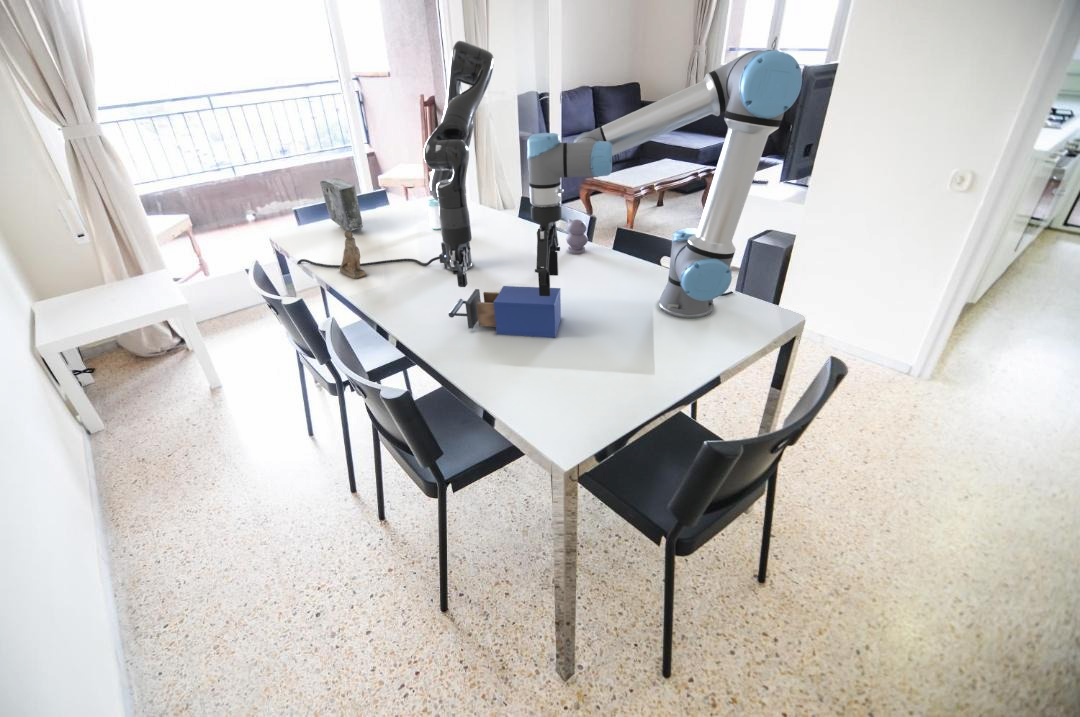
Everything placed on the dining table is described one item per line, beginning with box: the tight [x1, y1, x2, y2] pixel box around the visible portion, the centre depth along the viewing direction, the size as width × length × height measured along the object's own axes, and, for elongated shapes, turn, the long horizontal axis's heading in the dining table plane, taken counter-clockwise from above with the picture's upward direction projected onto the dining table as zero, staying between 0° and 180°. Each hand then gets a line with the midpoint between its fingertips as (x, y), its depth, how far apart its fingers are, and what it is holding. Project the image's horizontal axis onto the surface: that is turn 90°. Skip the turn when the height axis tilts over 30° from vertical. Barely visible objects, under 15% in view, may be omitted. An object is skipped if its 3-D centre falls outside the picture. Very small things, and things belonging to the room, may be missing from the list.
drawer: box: [448, 288, 499, 329], centre depth 139 cm, size 20×10×8 cm, turn 80°
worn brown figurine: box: [339, 230, 367, 280], centre depth 174 cm, size 12×6×18 cm, turn 43°
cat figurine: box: [565, 218, 589, 255], centre depth 187 cm, size 9×8×12 cm
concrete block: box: [319, 177, 364, 232], centre depth 222 cm, size 27×9×20 cm, turn 36°
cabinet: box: [494, 285, 562, 339], centre depth 137 cm, size 16×11×10 cm, turn 80°
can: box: [426, 198, 441, 230], centre depth 220 cm, size 7×7×12 cm
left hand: (463, 285), depth 136 cm, fingers closed
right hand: (549, 284), depth 131 cm, fingers open, 13 cm apart
